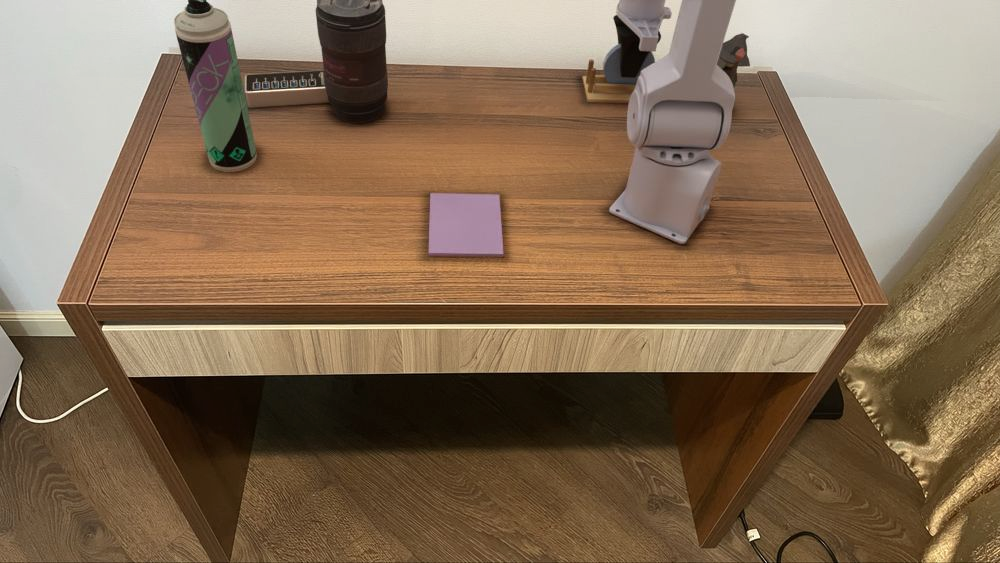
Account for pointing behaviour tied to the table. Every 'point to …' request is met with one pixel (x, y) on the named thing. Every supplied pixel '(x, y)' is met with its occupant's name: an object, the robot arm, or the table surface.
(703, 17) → the robot arm
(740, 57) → the wizard figurine
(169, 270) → the table surface
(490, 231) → the mat
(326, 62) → the camera lens
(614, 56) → the plate
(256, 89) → the multiport hub
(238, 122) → the spray can
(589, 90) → the rack
